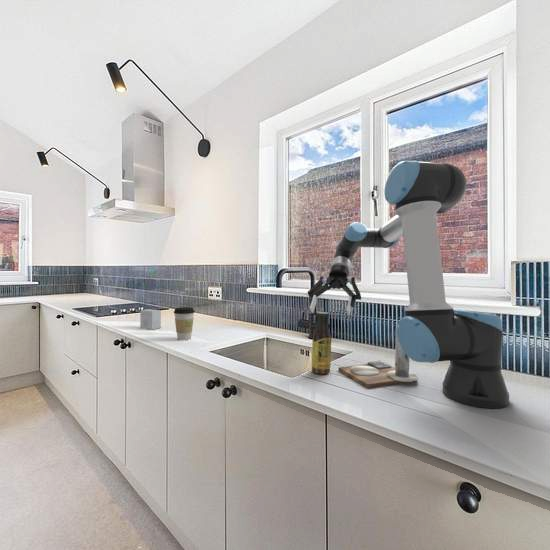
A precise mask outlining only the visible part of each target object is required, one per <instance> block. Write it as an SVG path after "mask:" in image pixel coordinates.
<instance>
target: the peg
mask: <svg viewBox="0 0 550 550" xmlns="http://www.w3.org/2000/svg"><path fill="white" fill-rule="evenodd" d="M394 341H395V349H394V350H395V352H394V354H395V356H394V357H395V358H394V362H395V363H394V367H395V375H396V376H398V377H404V378H406V377H409V372H410V358H409V357H408V356H407V355H406V354H405V352H404V351H403V350H402V348H401V346H400V344H399V342H398V338H397V328H396V329H395V340H394Z"/></svg>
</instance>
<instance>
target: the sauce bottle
mask: <svg viewBox="0 0 550 550" xmlns="http://www.w3.org/2000/svg"><path fill="white" fill-rule="evenodd" d="M329 318H330V313H329V312H326V311H324V312H323V311H318V312H316V326H315V328H314V330H313V333H312V343H311V344H312V345H311V347H312V349H311V372H312V373H314V374H317V375H318V374H319V375H326V374H329V373H330V372H331V366H332V365H331V363H332V362H331V359H332V358H331V356H332V336H331V331H330V327H329Z"/></svg>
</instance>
